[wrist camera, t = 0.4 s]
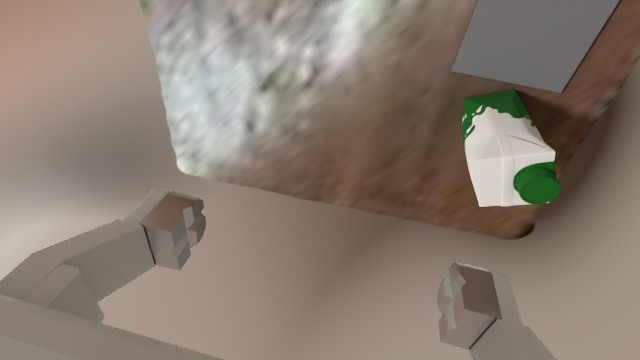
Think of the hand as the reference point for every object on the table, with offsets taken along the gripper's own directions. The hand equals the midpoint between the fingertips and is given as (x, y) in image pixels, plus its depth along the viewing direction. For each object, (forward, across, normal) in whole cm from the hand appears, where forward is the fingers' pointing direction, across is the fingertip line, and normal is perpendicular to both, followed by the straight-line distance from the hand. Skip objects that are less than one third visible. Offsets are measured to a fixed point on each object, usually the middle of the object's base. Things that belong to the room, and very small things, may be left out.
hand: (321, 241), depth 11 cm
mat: (+46, -19, 0) cm, 50 cm away
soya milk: (+47, -19, +14) cm, 52 cm away
